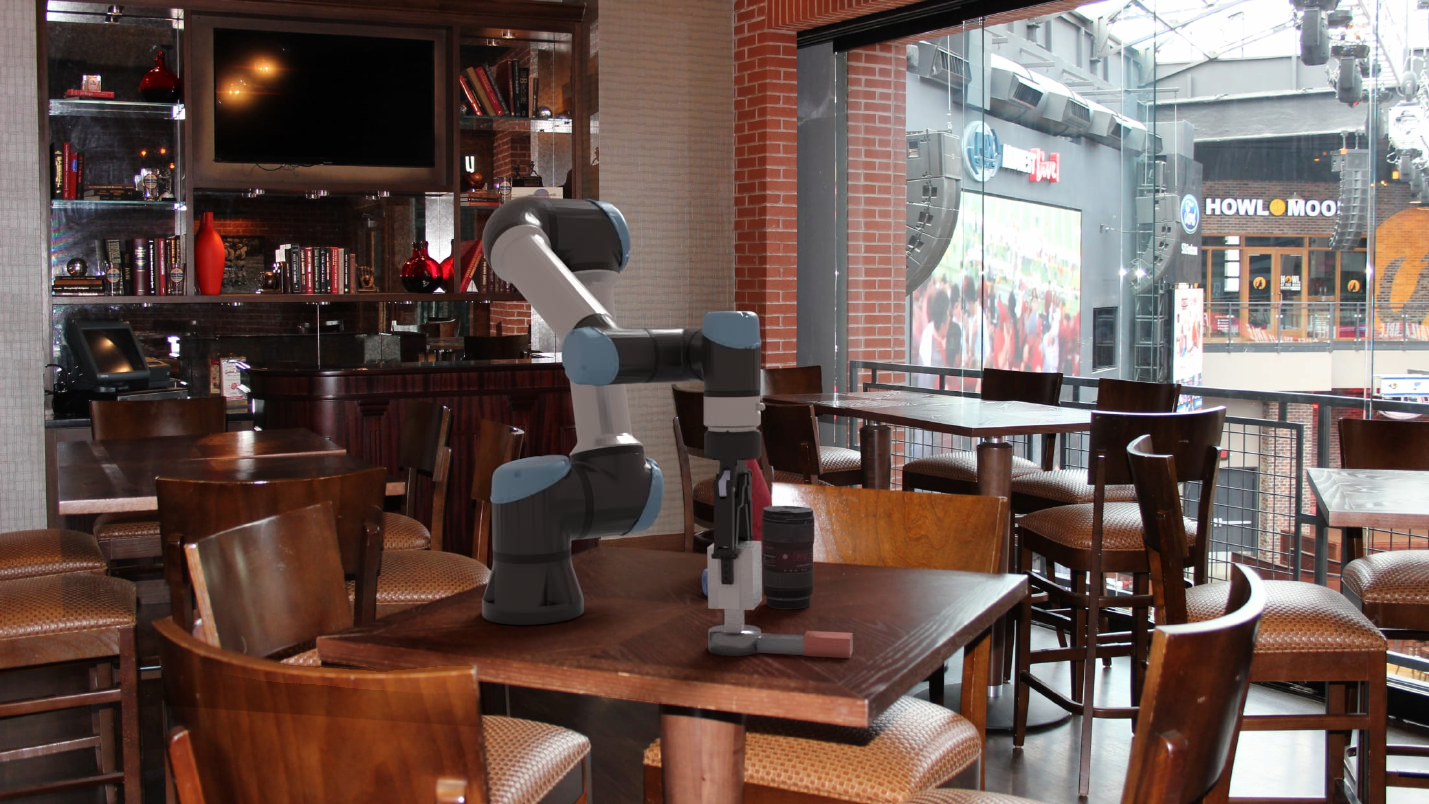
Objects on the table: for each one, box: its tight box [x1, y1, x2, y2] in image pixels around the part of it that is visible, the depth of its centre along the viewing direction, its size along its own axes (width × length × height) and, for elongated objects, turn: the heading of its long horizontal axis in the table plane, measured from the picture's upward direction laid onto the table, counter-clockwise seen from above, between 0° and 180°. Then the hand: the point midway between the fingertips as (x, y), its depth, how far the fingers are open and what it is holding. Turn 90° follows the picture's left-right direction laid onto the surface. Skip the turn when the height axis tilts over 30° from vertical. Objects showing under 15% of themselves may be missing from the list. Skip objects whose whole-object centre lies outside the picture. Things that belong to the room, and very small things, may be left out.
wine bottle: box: [746, 459, 773, 571], centre depth 214 cm, size 10×10×30 cm
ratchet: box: [707, 609, 854, 659], centre depth 162 cm, size 19×7×6 cm, turn 77°
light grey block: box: [706, 541, 763, 611], centre depth 162 cm, size 6×6×8 cm
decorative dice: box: [701, 567, 708, 597], centre depth 197 cm, size 4×4×4 cm
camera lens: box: [761, 505, 816, 610], centre depth 189 cm, size 8×8×15 cm
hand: (734, 602), depth 163 cm, fingers closed on light grey block, 6 cm apart
